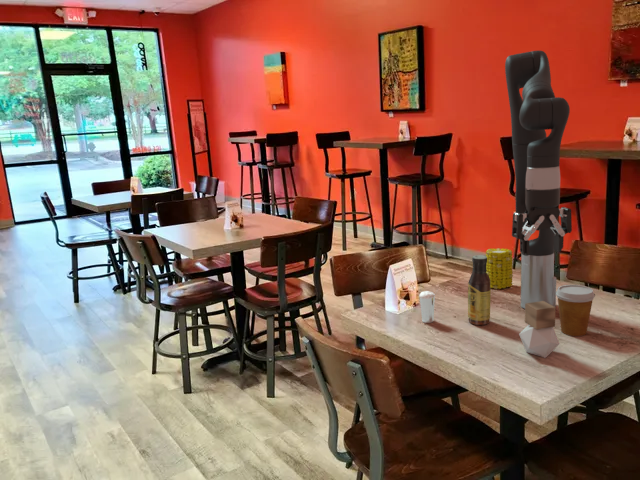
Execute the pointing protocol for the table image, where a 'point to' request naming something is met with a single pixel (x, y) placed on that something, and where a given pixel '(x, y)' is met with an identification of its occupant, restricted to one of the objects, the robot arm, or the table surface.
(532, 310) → the walnut cube
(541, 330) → the die
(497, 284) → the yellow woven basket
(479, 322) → the sauce bottle
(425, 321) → the milkshake
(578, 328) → the disposable coffee cup
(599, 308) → the table surface
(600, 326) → the table surface
